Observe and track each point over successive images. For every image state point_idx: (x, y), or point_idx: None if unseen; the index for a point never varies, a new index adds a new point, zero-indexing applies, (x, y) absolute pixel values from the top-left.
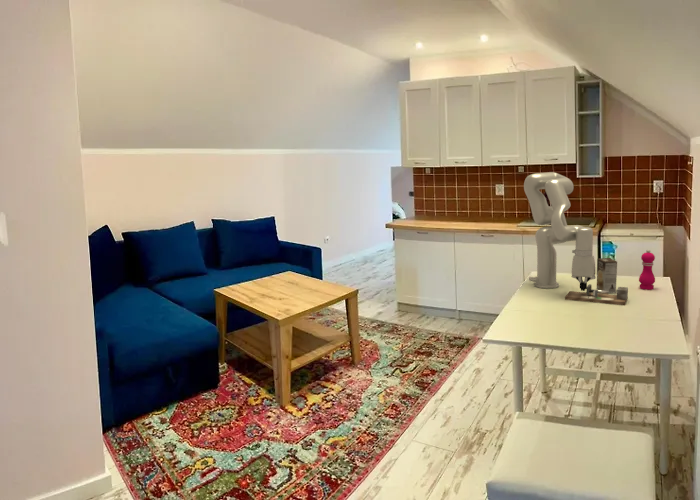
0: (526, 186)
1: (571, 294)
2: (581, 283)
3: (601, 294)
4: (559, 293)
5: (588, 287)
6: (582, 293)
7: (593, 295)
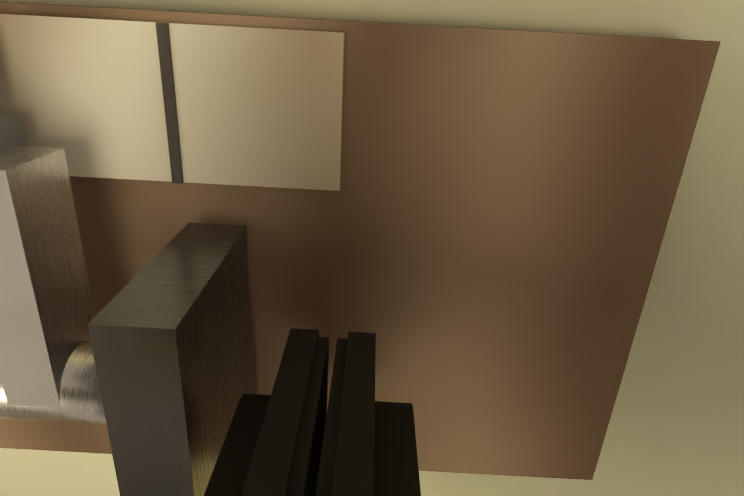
0: None
1: (562, 267)
2: (352, 484)
3: None
4: (739, 426)
5: (115, 323)
6: None
7: None
